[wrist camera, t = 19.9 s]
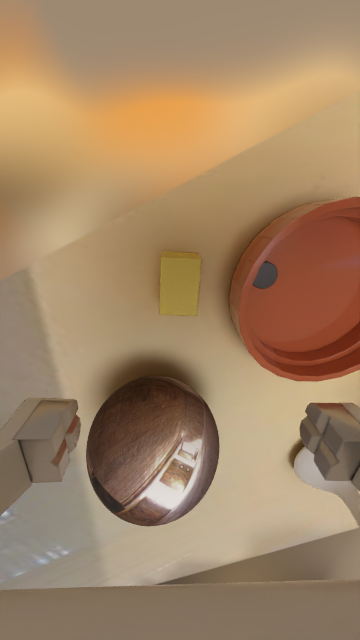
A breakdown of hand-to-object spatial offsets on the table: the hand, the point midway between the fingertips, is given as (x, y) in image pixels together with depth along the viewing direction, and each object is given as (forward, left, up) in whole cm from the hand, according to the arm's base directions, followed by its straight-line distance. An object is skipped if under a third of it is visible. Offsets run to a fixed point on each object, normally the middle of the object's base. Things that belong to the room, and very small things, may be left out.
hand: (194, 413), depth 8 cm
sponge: (0, 0, -21) cm, 21 cm away
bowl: (+1, +16, -21) cm, 26 cm away
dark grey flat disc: (-1, +10, -20) cm, 22 cm away
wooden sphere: (+18, -2, -21) cm, 28 cm away
